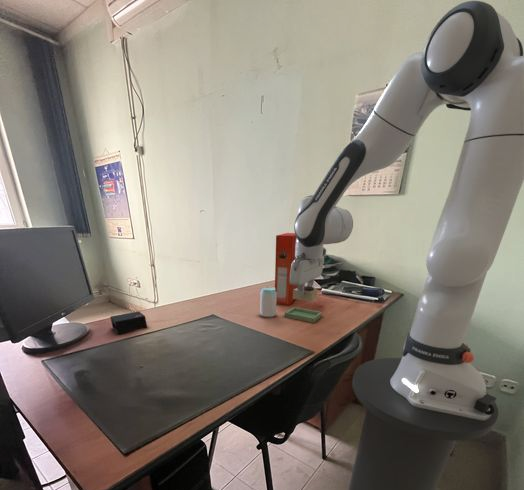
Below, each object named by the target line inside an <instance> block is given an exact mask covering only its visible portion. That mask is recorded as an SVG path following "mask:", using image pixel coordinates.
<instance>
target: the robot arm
mask: <svg viewBox="0 0 524 490" xmlns="http://www.w3.org/2000/svg"><path fill="white" fill-rule="evenodd" d="M444 105H445V106H446V108H448V109H452V110H460V111H461V110H462V111H468V112H469V111H470V117H469V123H468V127H467V131H466V134H465V137H464V140H463V144H462V146H461V150H460V153H459V156H458V160H457V164H456V168H455V171H454V174H453V177H452V181H451V185H450V188H449V190H448V194H447V197H446V199H445V202H444V204H443V207H442V210H441V213H440V215H439V219H438V222H437V224H436V227H435V231H434V233H433V236H432V239H431V242H430V244H429V248H428V251H427V254H426V259H425V260H426V261H425V265H426V270H427V272H428V273H427V276H426V280H425V283H424V285H423V288H422V291H421V293H420V296H419V299H418V302H417V305H416V309H415V313H414V316H413V319H412V324H411V327H410V331H409V332H408V333H407V335H406V337H405V339H404V340H405V341H404V344H403V348H402V356H401V358H402V359H401V362H400V364H399V366H398V368H397V370H396V372H395V373H394V375H393V376H392V378H391V379H390V384H391V386H392V387H393V389H394V390H395V391H396V392H398V393H399V394H400V395H402V396H404V397H405V398H406V399H407V400H408V401H409V402H410V404H412V405H413V406H415V407H419V408H423V409H428V410H433V411H438V412H443V413H448V414H453V415H458V416H463V417H468V418H473V419H478V420H487V419H489V418H490V417H491V414H493V413H494V411H495V409H494V407H493V405H494V403H496V401H497V397H496V396H493V395H490V393H488V394H486V392H487V384H486V380H485V378H484V376H483V375H482V373H481V372H479V370H478V369H477V368H475V366H473V364H471V363H473V361H474V354H473V353H472V352H471V348H470V347H469V345H468V344H467V343H464V340H465V337H466V334H467V332H468V329H469V326H470V323H471V320H472V317H473V315H474V313H475V309H476V306H477V303H478V300H479V297H480V294H481V291H482V289H483V286H484V283H485V279H486V276H487V274H488V271H490V269H491V267H492V266H493V264H494V261H495V259H496V256H497V254H498V251H499V248H500V245H501V243H502V240H503V237H504V235H505V232H506V230H507V226H508V224H509V221H510V218H511V216H512V213H513V211H514V207H515V205H516V202H517V199H518V197H519V193H520V190H521V188H522V186H523V183H524V47H523V45H522V42H521V40H520V39H519V38H518V37H517V35H516V33H515V31H514V30H513V27H512V25H511V23H510V22H509V20H507V19H506V18H505V17H504V16H503V15H502V14H500V13H499V12H498V11H496V9H495V8H494V7H493V5H491V4H490V3H488V2H485V1H480V0H468V1H465V2H464V1H463V2H461V3H459V4H457V5H456V6H454V7H452V8H451V9H450V10H449V11H447V12H446V13H445V14H444V15H443V16H442V17H441V18H440V20H439V21H438V22H437V23H436V24H435V26H434V27H433V29H432V30H431V32H430V34H429V36H428V38H427V40H426V42H425V45H424V47H423V51H418V52H415V53H413V54H411V55H409V56H408V57H407V58H406V59H405V60H404V61H403V63H402V64H401V65H400V66H399V68H398V69H397V70H396V71H395V73H394V74H393V76H392V77H391V79H390V80H389V82H388V84H387V85H386V87H385V88H384V89H383V92H382V93H381V95H380V96H379V99H378V100H377V102H376V104H375V106H374V107H373V110H372V111H371V113H370V114H369V116H368V118H367V119H366V121H365V123H364V124H363V126H362V128H360V130H359V132H358V133H357V134H356V135H355V136H354V138H353V139H352V140H351V141H350V142H349V143H348V144H347V145H345V147H344V148H343V149H342V151H340V153H339V154H338V156H337V158H336V159H335V161H334V162H333V164H332V165H331V167H330V168H329V170H328V171H327V173H326V174H325V176H324V178H323V180H322V181H321V182H320V184H319V186H318V187H317V189H316V191H314V194H313V195H307V196H305V197H303V198H302V199H301V200H300V202H299V205H298V209H297V216H296V218H295V221H294V228H293V229H294V233H295V235H296V237H297V239H296V246H295V257H296V258H295V260H294V261H293V262H292V265H291V271H290V284H291V285H295V286H297V287H298V290H299V294H298V295H299V296H304V295H305V290H304V286H308V287H313V286H314V283H315V279H317V278H319V277H321V276H322V273H323V270H324V263H325V256H326V255H327V249H326V248H325V247H324V245H332V244H333V245H334V244H339V243H343V242H345V241H347V239H349V237H350V236H351V234H352V232H353V229H354V219H353V216H352V214H351V212H350V211H349V210H347V209H345V208H342V207H339V206H337V205H338V203H339V202H340V200H341V199H342V197H343V196H344V194H345V193H346V191H347V190H348V189H349V188H350V186H352V185H353V184H354V183H355V182H356V181H357V180H359V179H361V178H362V177H364V176H367V175H369V174H371V173H374V172H377V171H380V170H383V169H386V168H388V167H390V166H392V165H393V164H395V162H396V161H397V160H398V159H399V158H400V157H401V156H402V155H403V154H404V153H405V151H407V149H408V148H409V146H410V145H411V143H412V141H414V138H415V137H416V135H417V134H418V133H419V131H420V129H421V127H422V126H423V125H424V123H425V121H426V120H427V119H428V117H429V116H430V115H431V114H432V112H433V111H435V110H436V109H437V108H439V107H441V106H444Z"/></svg>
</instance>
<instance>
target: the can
mask: <svg viewBox="0 0 524 490" xmlns="http://www.w3.org/2000/svg"><path fill="white" fill-rule="evenodd" d="M259 297H260V298H259V306H260V307H259V309H260V310H259V315H260V316H261V317H263V318H273V317H275V316H276V315H277V304H276V299H277V292H276V291H275V287H271V286H265V287H262V288H261V290H260V294H259Z"/></svg>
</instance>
